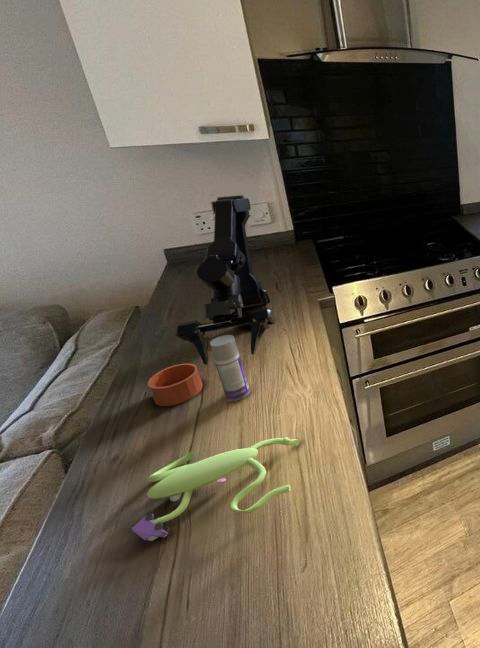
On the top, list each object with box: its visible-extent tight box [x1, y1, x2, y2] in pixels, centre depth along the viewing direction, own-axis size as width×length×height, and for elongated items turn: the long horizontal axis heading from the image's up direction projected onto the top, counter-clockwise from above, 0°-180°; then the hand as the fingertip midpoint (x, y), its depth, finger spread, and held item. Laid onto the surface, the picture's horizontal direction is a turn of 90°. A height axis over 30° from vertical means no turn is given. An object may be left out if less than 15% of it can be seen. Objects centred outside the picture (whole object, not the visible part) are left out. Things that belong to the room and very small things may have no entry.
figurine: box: [131, 436, 301, 542], centre depth 78 cm, size 18×27×6 cm
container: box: [209, 334, 251, 402], centre depth 100 cm, size 5×5×15 cm
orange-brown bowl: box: [147, 363, 204, 407], centre depth 103 cm, size 9×9×5 cm
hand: (229, 359), depth 101 cm, fingers open, 9 cm apart
